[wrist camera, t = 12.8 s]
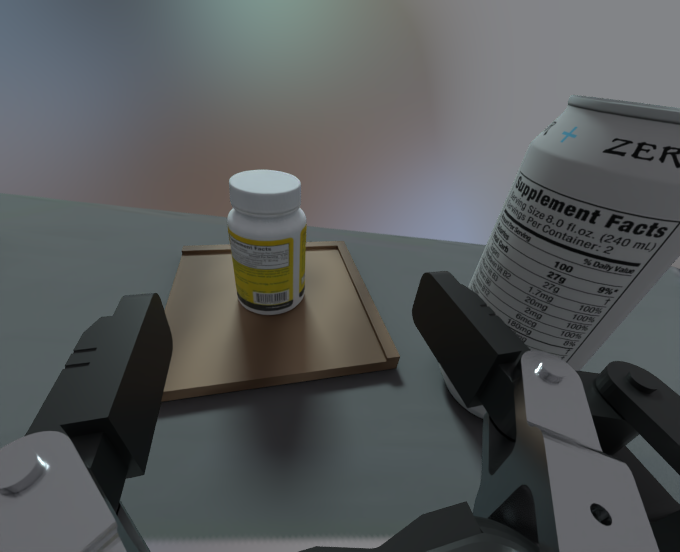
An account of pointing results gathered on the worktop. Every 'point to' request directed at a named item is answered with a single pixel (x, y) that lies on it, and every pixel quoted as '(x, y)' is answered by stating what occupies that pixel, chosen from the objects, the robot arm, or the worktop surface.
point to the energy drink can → (584, 227)
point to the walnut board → (270, 326)
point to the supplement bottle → (267, 240)
